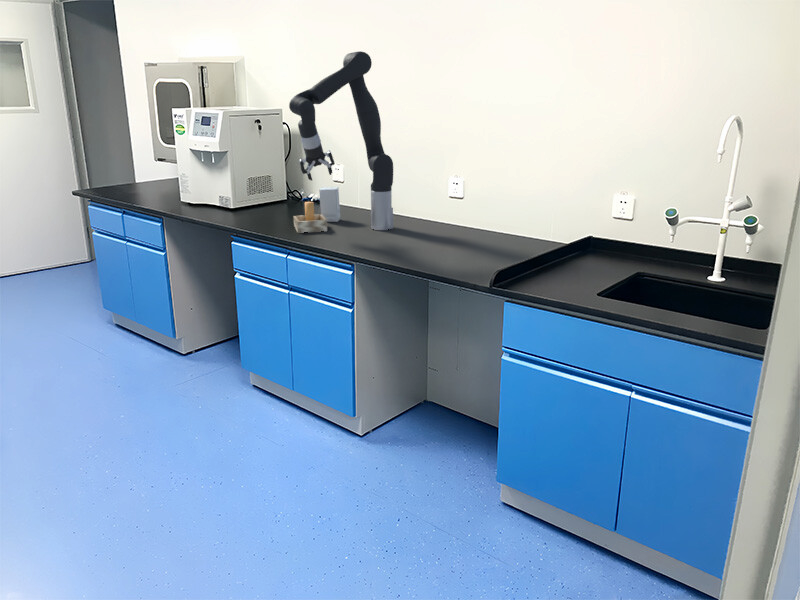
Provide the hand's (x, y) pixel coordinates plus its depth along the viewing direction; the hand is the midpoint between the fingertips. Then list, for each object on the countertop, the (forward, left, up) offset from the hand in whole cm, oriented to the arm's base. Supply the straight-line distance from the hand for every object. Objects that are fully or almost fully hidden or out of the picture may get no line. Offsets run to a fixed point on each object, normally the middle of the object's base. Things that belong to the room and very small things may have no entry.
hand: (320, 176), depth 270 cm
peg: (+5, -7, -24) cm, 25 cm away
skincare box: (-8, -22, -24) cm, 33 cm away
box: (+4, -7, -24) cm, 25 cm away
